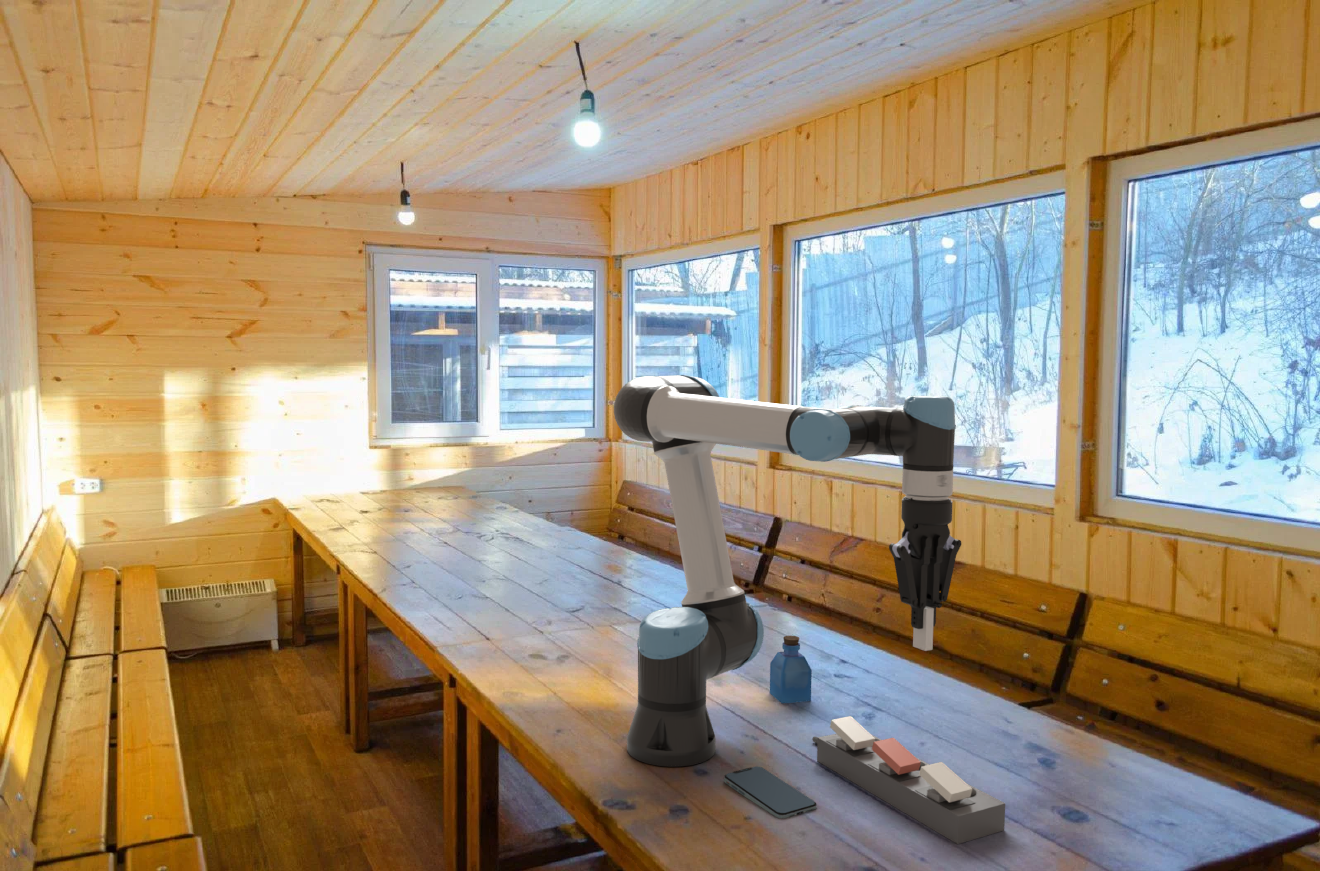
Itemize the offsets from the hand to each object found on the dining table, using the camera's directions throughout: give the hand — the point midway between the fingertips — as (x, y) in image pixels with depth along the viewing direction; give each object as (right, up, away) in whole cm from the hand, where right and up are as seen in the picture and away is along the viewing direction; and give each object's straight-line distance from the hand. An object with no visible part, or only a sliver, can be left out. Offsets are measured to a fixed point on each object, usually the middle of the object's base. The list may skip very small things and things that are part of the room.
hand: (922, 647), depth 155 cm
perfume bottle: (-15, -19, +43) cm, 50 cm away
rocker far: (-9, -16, +8) cm, 20 cm away
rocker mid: (-4, -17, -1) cm, 17 cm away
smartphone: (-24, -23, -1) cm, 33 cm away
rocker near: (0, -17, -10) cm, 20 cm away
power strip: (-5, -22, +3) cm, 23 cm away
